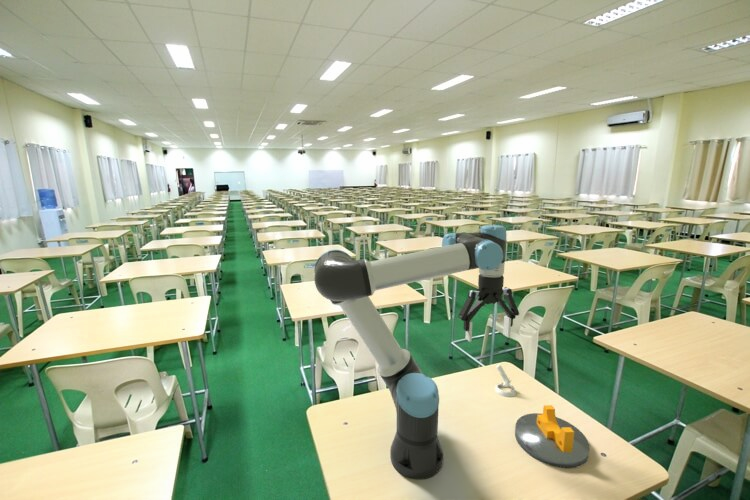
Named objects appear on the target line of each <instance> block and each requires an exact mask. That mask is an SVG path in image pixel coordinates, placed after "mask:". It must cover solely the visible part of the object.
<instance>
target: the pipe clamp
mask: <svg viewBox="0 0 750 500" xmlns="http://www.w3.org/2000/svg"><path fill="white" fill-rule="evenodd" d="M542 409H543V410H542V414H543V415H537V425H538V426H539V428H540V429H541V431H542V432H543V433H544V435H545V436H546V438H553V439H554V441H555V442H556V443H557V445H558V446H559V447H560V449H561V450H562V451H563V452H572V448H573V439H574V431H573V430H572V429H571V427H561V429H560V428H559V426H558V423H557V421H556V417H557V416H556V408H554V405H552V404H550V405H549V404H548V405H546V404H545V405H543V408H542Z"/></svg>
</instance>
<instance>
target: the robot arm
mask: <svg viewBox="0 0 750 500" xmlns="http://www.w3.org/2000/svg"><path fill="white" fill-rule="evenodd" d="M506 247H507V228H506V227H505V226H503V225H500V224H499V225H498V224H497V225H496V224H486V225H485V224H484V225H482V226H481V227H480V231H479V232H452V233H446V234H445V235H444V236H443V237H442V242H441V246H439V247H433V248H430V249H425V250H420V251H415V252H411V253H406V254H401V255H395V256H391V257H385V258H381V259H378V260H377V259H376V260H371V261H369V260H368V259H366V258H362V259H357V260H355V259H354V260H353V258H352V256H351V255H350V254H348V253H347V252H345V251H343V250H341V249H328V250H327V251H325V252H323V253H322V254H321V255H320V256H319V257H318V258H317V260H316V262H315V264H314V269H313V270H314V285H315V288H316V290H317V292H318V293H319V294H320V295H321V296H322V297H324V298H325V299H327V300H329V301H330V302H331V304H332V305H335V306H340V308H341V309H342V311H343V313H344V314H345V315H346V317H347V318H348V320H349V321H350V323H351V324H352V326H353V328H354V329H355V331H356V333H358V335H359V336H360V338H361V340H362V341H363V343H364V344H365V346H366V347H367V349H368V351H369V352H370V354H371V355H372V356H373V358H374V359H375V361H376V363H377V364H378V366H377V373H378V374H379V376H380V378H381V379H382V380H383V382H384V383H385V385H386V387H387V388H388V391H389V393H390V395H391V398H392V402H393V404H394V407H395V411H396V432H395V435H394V437H393V440H392V443H391V446H390V456H389V457H390V462H391V465H392V467H393V468H394V469H395V470H396V471H397V472H398V473H399V474H401V475H403V476H404V477H407V478H410V479H415V480H425V479H426V480H427V479H428V478H432V477H434V476H435V475H436V474H438V473H439V472H440V471H441V470H442V468H443V464H444V451H443V447H442V444H441V442H440V439H439V434H438V431H439V428H438V427H439V404H440V395H439V388H438V385H437V384H436V381H434V380H433V379H432V378H431V377H430V376H426V374H424V373H423V372H422V370H421V368H420V365H419V363H418V362H417V361H416V360H415V359H414V358H413V356H412V355H411V352H410V351H409V350H407V349H405V348H402V347H401V346H400V344H399V343H398V340H396V338H395V336H394V334H393V333H392V332H391V330H390V328H389V326H388V325H387V324H386V321H385V320H384V319H383V317H382V315H381V314H380V312H379V311H378V309H377V308H376V306H375V304H374V303H373V301H372V300H371V298H370V297H371V296H373V295H374V294H375V292H377V291H379V290H384V289H389V288H393V287H399V286H402V285H407V284H411V283H415V282H420V281H424V280H429V279H434V278H440V277H443V276H449V275H452V274H457V273H461V272H466V271H469V270H470V271H471V270H475V269H478V273H479V274H478V279H477V280H478V281H477V283H478V289H477V290H473V289H469V290H468V294H467V298H466V299H465V302H464V304H463V306H462V307H461V309H460V312H459V313H458V315H457V318H458V319H460V320H461V321H463V330H464V331H465V336H464V337H465V339H466V340H467V341H468V342H469V343H471V342H472V341H473V340H472V339H473V338H472V336H473V321H472V320H473V318H474V317H475V316H476V315H477V314H478V312H479V311H480V309H482V307H484V306H485V305H490V304H496V303H497V304H498V305H499V307H500V308H501V310H502V311H504V314H506V315H504V317H503V330H502V331H503V332H502V334H503V336H505V337H507V338H511V327H513V325H514V323H513V322H514V319H516V317H517V316H520V311H519V309H518V307H517V304H516V302H515V300H514V297H513V290H512V288H509V287H507V286H505V287H504V280H505V279H504V275H505V265H506V264H505V261H506ZM503 295H504V297H505V299H506V302H507V304H508V306H507V304H506V303H505V301H504V300H503V299H502V296H503Z"/></svg>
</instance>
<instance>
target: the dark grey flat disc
mask: <svg viewBox="0 0 750 500" xmlns="http://www.w3.org/2000/svg"><path fill="white" fill-rule="evenodd" d="M537 415H543V413H535V412H534V413H527V414H524V415H522V416H521V417H519V418H518V419H517V421H516V423H515V428H514V435H515V440H516V442H517V444H518V445H519V447H520V448H521V449H522V450H523V451H524V452H525V453H526V454H527V455H529V456H530V457H531V458H533V459H535V460H537V461H539V462H541V463H543V464H545V465H548V466H551V467H553V468H559V469H560V468H561V469H575V468H579V467H581V466H583V465H584V464H586V462H587V461H588V459H589V453H590V444H589V443H590V442H589V441H588V439H587V437H586V435H585V434H584V433H583V432H582V431H581V430H580V429H579V428H577V427H576V426H575V425H573V424H572V423H570V422H568V421H567V420H565V419H562V418H560V417H558V416H555V417H556V421H557V423H558V426H559V428H560V429H561V427H571V429H572V430H573V431H574V439H573V448H572V452H563V451H562V450H561V449H560V447H559V446H558V445H557V443H556V442H555V441H554V439H553V438H546V436H545V435H544V433H543V432H542V431H541V429H540V428H539V426H538V425H537Z"/></svg>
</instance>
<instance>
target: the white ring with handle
mask: <svg viewBox="0 0 750 500" xmlns="http://www.w3.org/2000/svg"><path fill="white" fill-rule="evenodd" d="M496 370H497V371H498V372H499V374H500V376H501V377H502V380H503V382H499V383H497V384H496V385H495V386H494V391H495V392H496V393H497V394H498V395H500V396H502V397H505V398H506V397H507V398H510V397H515V396H516V394H517V391H516V389H515V387H514V385H512V384H511V383H512V380H510V377H508V375H507V374H506V372H505V370H504V369H503V366H502V365H501V364H499V363H498V364H497V365H496ZM499 387H504V388H509V389H511V390H510V391H505V390H502V389H500V388H499Z"/></svg>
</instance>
